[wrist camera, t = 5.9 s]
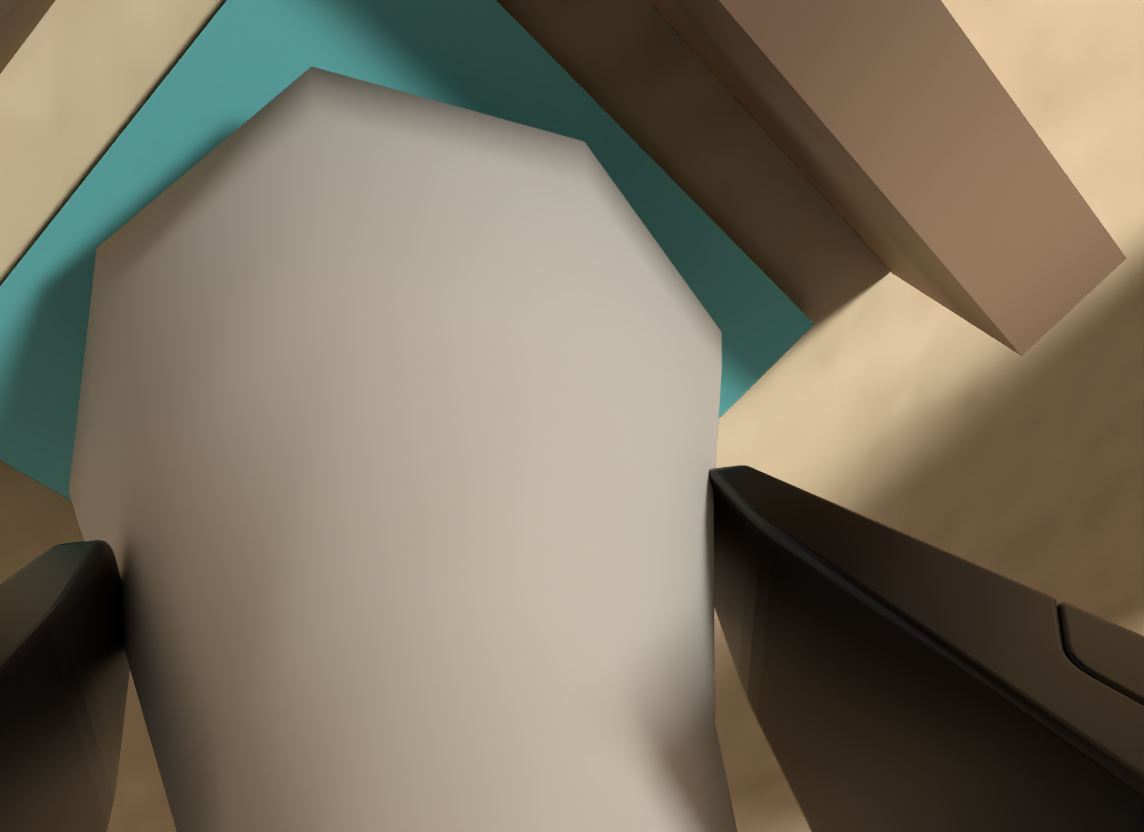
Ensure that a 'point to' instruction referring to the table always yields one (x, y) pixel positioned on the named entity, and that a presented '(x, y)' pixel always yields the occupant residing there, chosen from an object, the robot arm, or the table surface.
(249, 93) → the pad
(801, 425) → the table surface
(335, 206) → the flask
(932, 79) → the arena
